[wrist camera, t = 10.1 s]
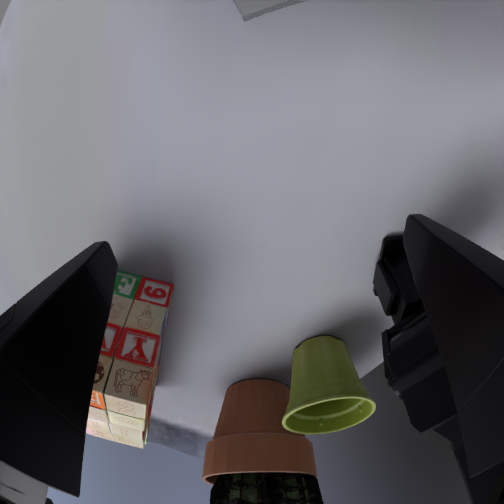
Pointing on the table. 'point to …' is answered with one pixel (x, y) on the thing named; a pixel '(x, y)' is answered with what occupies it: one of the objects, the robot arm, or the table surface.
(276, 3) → the dock
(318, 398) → the plant pot
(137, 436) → the stack of blocks
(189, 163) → the table surface
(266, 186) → the table surface
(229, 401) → the potted plant
